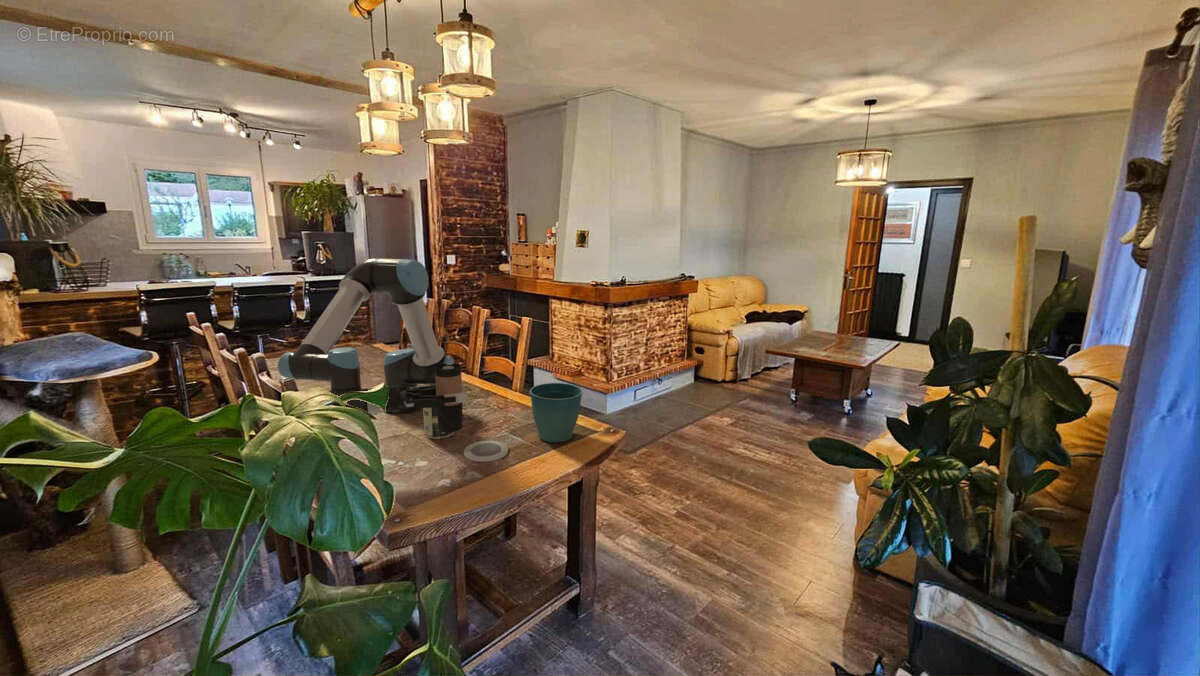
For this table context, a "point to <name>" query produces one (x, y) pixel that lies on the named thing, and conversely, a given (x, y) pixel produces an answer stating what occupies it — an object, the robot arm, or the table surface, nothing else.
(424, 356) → the robot arm
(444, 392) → the travel mug
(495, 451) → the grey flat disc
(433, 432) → the coffee can
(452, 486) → the table surface
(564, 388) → the flower pot
